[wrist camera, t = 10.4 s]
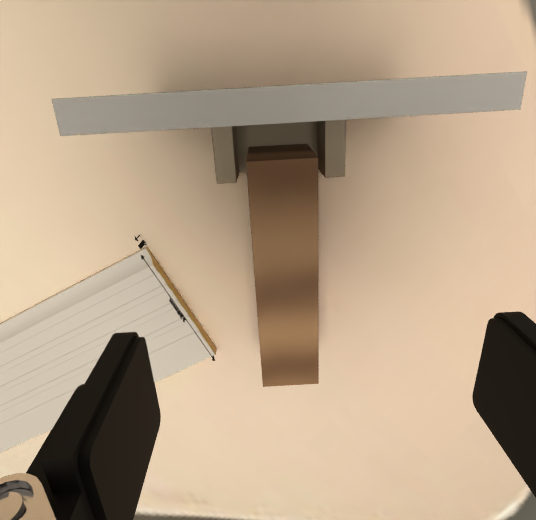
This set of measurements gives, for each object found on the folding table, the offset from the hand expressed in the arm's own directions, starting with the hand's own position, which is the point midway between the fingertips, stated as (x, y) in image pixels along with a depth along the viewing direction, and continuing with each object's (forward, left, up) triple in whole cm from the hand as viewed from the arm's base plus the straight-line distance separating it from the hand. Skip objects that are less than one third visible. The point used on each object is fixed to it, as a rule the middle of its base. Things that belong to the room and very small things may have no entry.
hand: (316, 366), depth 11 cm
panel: (-4, 0, -20) cm, 20 cm away
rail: (+4, 0, -19) cm, 20 cm away
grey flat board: (+14, -22, -20) cm, 33 cm away
